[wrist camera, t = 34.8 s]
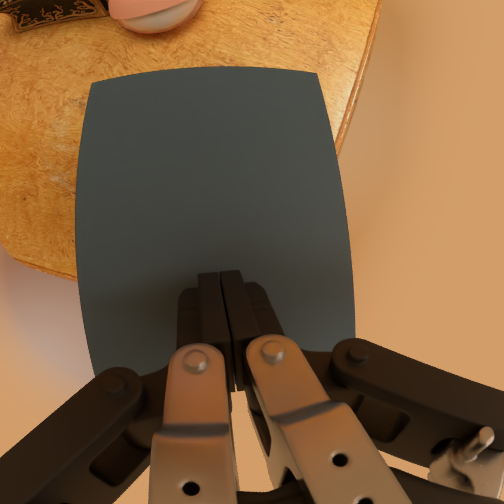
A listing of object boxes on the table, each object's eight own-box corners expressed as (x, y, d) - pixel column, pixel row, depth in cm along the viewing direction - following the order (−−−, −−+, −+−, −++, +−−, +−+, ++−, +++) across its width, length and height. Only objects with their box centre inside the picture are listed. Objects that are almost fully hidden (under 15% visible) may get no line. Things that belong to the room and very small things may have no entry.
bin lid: (347, 354, 12) (355, 359, 11) (103, 383, 10) (98, 390, 9) (311, 81, 12) (317, 72, 12) (95, 91, 10) (91, 82, 10)
